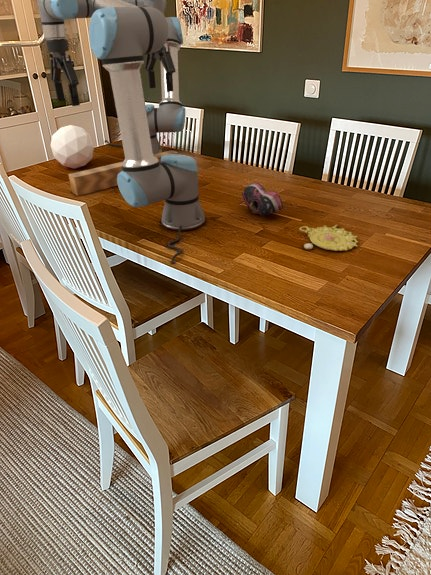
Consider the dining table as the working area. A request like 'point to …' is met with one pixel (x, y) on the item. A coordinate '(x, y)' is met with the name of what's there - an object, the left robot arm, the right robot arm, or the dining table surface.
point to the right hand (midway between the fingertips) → (68, 103)
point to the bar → (100, 177)
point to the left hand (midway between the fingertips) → (161, 89)
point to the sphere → (72, 146)
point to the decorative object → (330, 238)
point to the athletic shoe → (261, 200)
